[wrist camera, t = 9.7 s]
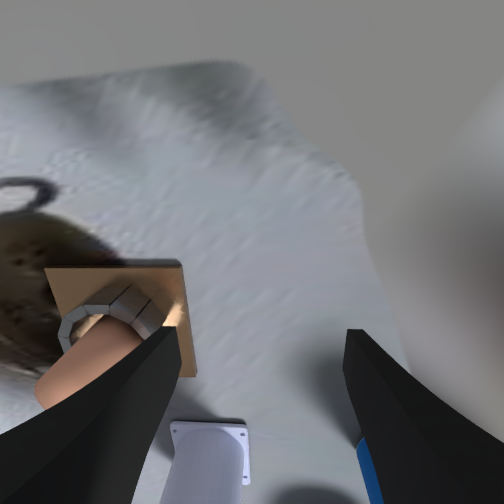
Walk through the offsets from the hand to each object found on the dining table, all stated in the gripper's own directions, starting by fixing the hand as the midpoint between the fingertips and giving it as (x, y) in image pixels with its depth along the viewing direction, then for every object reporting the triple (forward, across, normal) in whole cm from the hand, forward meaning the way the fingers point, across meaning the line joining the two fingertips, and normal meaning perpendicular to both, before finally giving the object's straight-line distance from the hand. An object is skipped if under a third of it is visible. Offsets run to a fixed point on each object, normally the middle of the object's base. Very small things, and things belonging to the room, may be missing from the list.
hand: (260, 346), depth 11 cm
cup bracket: (+9, +12, +6) cm, 16 cm away
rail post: (+9, +12, +6) cm, 16 cm away
